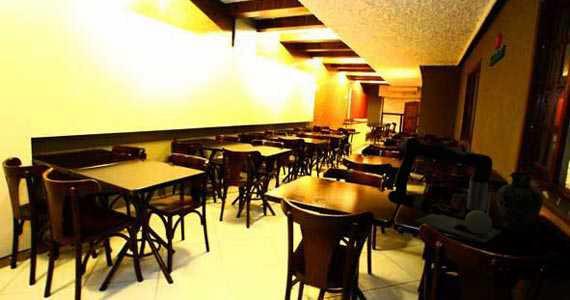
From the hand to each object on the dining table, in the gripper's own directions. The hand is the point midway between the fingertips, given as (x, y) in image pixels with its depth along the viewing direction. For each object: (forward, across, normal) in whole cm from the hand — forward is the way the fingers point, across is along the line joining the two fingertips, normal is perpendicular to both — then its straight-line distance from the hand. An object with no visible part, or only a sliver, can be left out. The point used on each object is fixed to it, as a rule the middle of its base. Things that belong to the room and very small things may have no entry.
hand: (455, 213), depth 157 cm
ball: (+10, 0, +2) cm, 11 cm away
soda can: (-7, +20, +7) cm, 22 cm away
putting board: (0, 0, +7) cm, 7 cm away
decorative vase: (+19, +26, +7) cm, 33 cm away
